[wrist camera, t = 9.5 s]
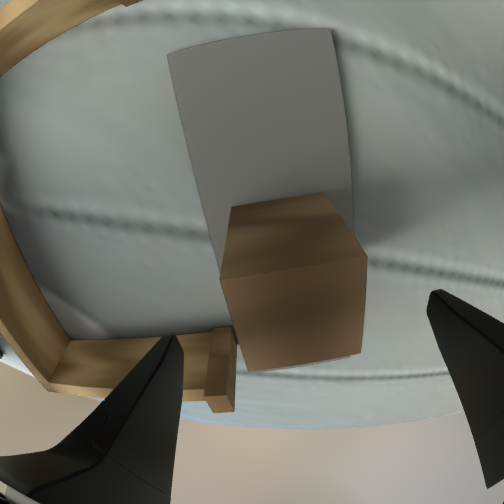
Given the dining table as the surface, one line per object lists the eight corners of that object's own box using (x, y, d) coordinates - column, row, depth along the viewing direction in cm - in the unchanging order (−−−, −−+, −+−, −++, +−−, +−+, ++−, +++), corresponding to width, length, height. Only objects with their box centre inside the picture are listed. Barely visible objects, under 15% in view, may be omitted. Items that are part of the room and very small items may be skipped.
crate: (69, 353, 20) (46, 400, 16) (-36, 89, 9) (-90, 103, 5) (237, 345, 19) (234, 411, 14) (145, -29, 8) (100, -71, 4)
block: (248, 282, 16) (248, 371, 11) (231, 207, 14) (219, 280, 9) (329, 269, 16) (360, 353, 10) (323, 191, 13) (367, 255, 8)
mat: (250, 368, 20) (250, 373, 20) (169, 55, 11) (166, 54, 10) (349, 353, 20) (350, 357, 19) (328, 30, 10) (330, 28, 10)
